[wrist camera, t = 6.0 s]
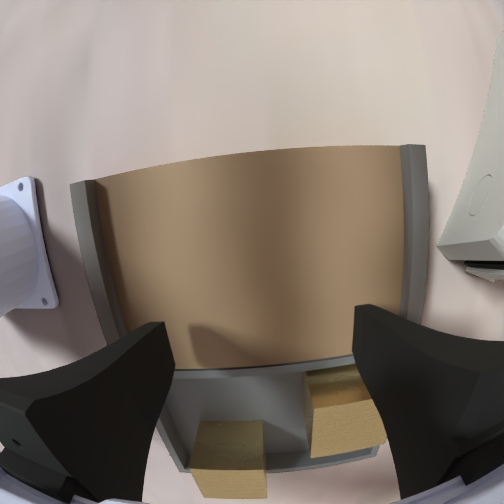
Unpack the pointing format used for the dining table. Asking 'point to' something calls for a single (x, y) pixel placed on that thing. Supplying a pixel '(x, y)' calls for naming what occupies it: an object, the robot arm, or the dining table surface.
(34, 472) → the robot arm
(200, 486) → the wooden cube
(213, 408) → the tray
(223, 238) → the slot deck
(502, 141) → the light grey rounded slab
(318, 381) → the tan wooden cube
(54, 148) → the dining table surface
